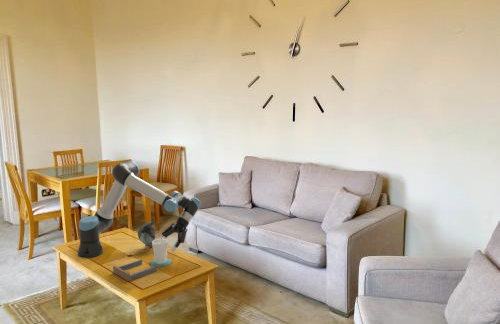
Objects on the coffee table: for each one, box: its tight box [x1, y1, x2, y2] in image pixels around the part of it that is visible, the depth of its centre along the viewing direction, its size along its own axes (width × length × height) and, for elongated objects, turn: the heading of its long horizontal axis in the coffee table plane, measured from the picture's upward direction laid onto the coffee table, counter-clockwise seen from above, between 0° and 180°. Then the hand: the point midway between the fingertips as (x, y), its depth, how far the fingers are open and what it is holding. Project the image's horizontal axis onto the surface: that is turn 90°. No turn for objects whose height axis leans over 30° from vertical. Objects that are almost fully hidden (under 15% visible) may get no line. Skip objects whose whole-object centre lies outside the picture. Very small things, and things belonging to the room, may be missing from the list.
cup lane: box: [112, 259, 158, 282], centre depth 217 cm, size 16×18×4 cm
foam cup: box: [152, 238, 169, 264], centre depth 229 cm, size 10×9×13 cm
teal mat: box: [149, 257, 173, 268], centre depth 230 cm, size 13×13×1 cm
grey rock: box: [137, 219, 158, 251], centre depth 254 cm, size 14×15×18 cm
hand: (165, 248), depth 231 cm, fingers open, 13 cm apart
